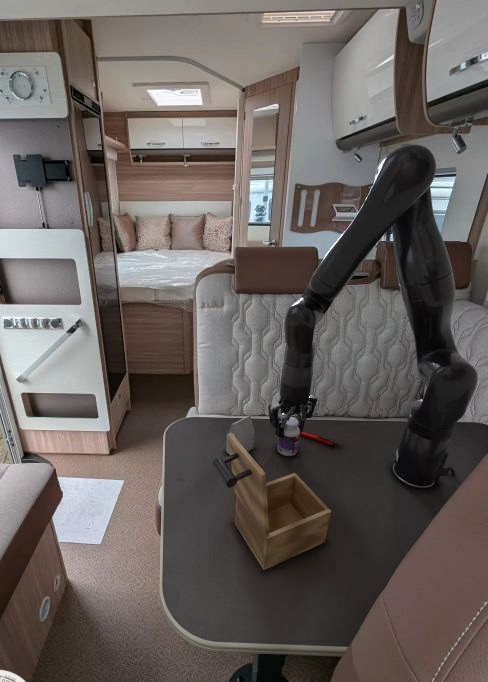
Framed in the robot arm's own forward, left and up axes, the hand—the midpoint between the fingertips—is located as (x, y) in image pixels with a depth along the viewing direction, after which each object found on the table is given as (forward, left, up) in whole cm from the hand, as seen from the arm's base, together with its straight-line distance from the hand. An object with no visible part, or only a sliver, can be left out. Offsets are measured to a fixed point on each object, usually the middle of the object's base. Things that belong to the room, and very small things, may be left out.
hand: (289, 434), depth 97 cm
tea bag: (+13, -1, -6) cm, 14 cm away
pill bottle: (0, 0, -6) cm, 6 cm away
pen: (-7, -6, -6) cm, 11 cm away
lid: (+16, +29, +11) cm, 35 cm away
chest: (+9, +26, -5) cm, 28 cm away
